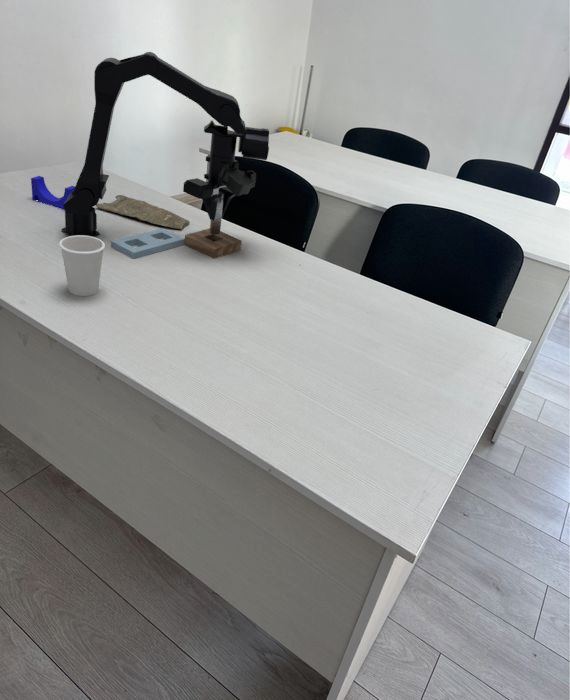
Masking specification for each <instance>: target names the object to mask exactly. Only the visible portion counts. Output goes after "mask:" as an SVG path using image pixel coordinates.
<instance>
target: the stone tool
mask: <svg viewBox="0 0 570 700" xmlns="http://www.w3.org/2000/svg"><path fill="white" fill-rule="evenodd" d="M115 199H116V200H114V201H112V202H108V203H107V202H102V203H97V204H96V205H95V206H96V207H97V208H99V209H101V210H104V211H106V212H112V213H115V214H117V215H121V216H128V217H130V218H134V219H137V220H138V221H143V222H145V223H146V222H147V223H150V224H152V225H158V226H162V227H166V228H172V229H175V230H176V229H177V230H182V229H184V228H185V227H187V226H188V225H189V224H190V223H191V222H190V220H188V219H186V218H184V217H182V216H180V215H178V214H176V213H174V212H172V211H169V209H164V208H162V207H159V206H156V205H153V204H150V203H148V202H146V201H144V200H140V199H135V198H131V197H128V196H125V195H123V194H122V195H121V194H117V195H116V196H115Z"/></svg>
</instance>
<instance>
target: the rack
mask: <svg viewBox="0 0 570 700" xmlns="http://www.w3.org/2000/svg"><path fill="white" fill-rule="evenodd" d="M160 239H162V240H160ZM184 241H185V237H182V236H180V235H178V234H176V233H174V232H171V231H169V230H167V229H165V228H163V227H162V228H157V229H154V230H149V231H145V232H141V233H136V234H133V235H129V236H124V237H122V238H117V239H113V240H111V241H110V247H111V248H113V249H115V250H117V251H118V252H121V253H122V254H124V255H126V256H127V257H130V258H131V259H137V258H142V257H145V256H149V255H151V254H152V255H153V254H155V253H159V252H162V251H166V250H169V249H172V248H177V247H180V246H183V245H184ZM136 245H137V246H138V247H137V246H136ZM134 246H136V247H134ZM184 246H185V245H184Z"/></svg>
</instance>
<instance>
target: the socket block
mask: <svg viewBox="0 0 570 700" xmlns="http://www.w3.org/2000/svg"><path fill="white" fill-rule="evenodd" d="M184 239H185V241H184V246H187V247H188V248H190V249H193V250H195V251H197V252H199V253H201V254H203V255H205V256H207V257H210V258H212V259H216V258H220V257H223V256H226V255H229V254H233V253H235V252H238V251H241V249H242V241H243V240H241V239H239V238H237V237H234V236H232V235H230V234H229V233H226V232H223V231H221V230H220V234H218V235H214V234H211V233H210V227H208V228H206V229H202V230H198V231H194V232H191V233H187V234H185V235H184Z"/></svg>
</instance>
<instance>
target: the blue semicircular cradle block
mask: <svg viewBox="0 0 570 700" xmlns="http://www.w3.org/2000/svg"><path fill="white" fill-rule="evenodd" d="M30 184H31V196H32V201H35V200H38V201H39V202H38V201H37V202H38V203H41V202H42V204H44V203H45V205H47V206H51V205H52V206H51V207H55V208H57V207H58V209H60V208H61V210H64V211H65V208H64V206H63V205H64V203H65V201H66V200H67V198H68V197H69V195H70V193H71V192H73V191H74V189H75V186H76V185H70V186H67V187H64V193H63V196H61V197H57V196H55V195H54V194H53V193H52V192H50V189H48V187H47V185H46V182H45V177H43V176H41V175H37V176H34V177H30Z"/></svg>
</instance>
